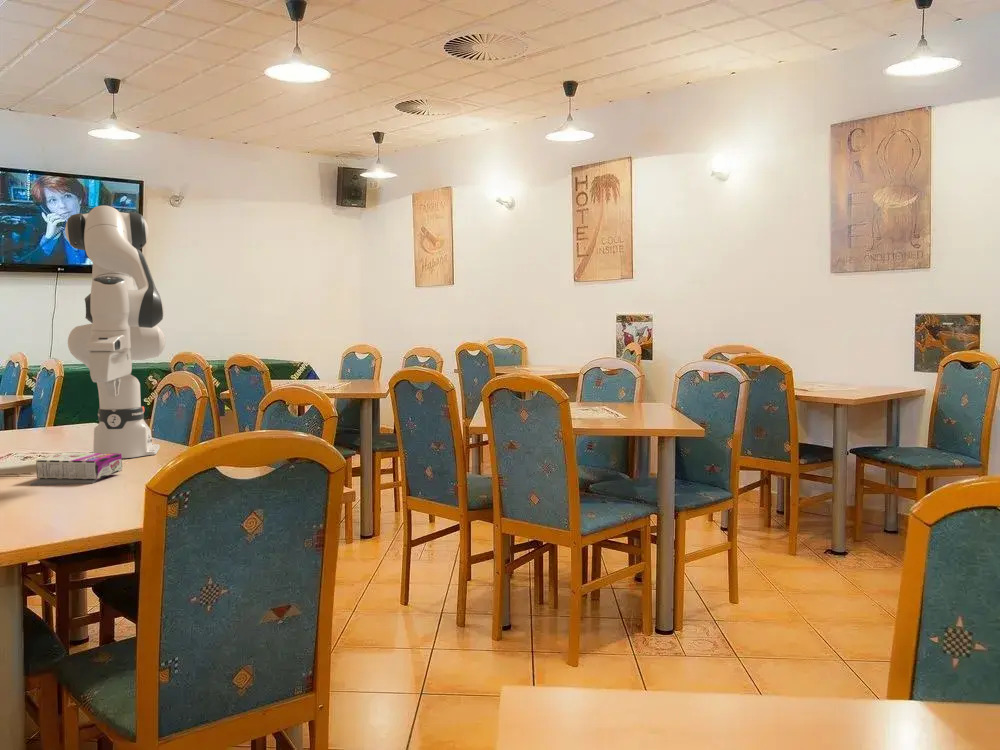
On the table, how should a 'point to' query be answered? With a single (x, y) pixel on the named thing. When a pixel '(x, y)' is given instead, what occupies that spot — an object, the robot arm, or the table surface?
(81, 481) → the slate mat
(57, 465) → the candy bar box
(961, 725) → the table surface
